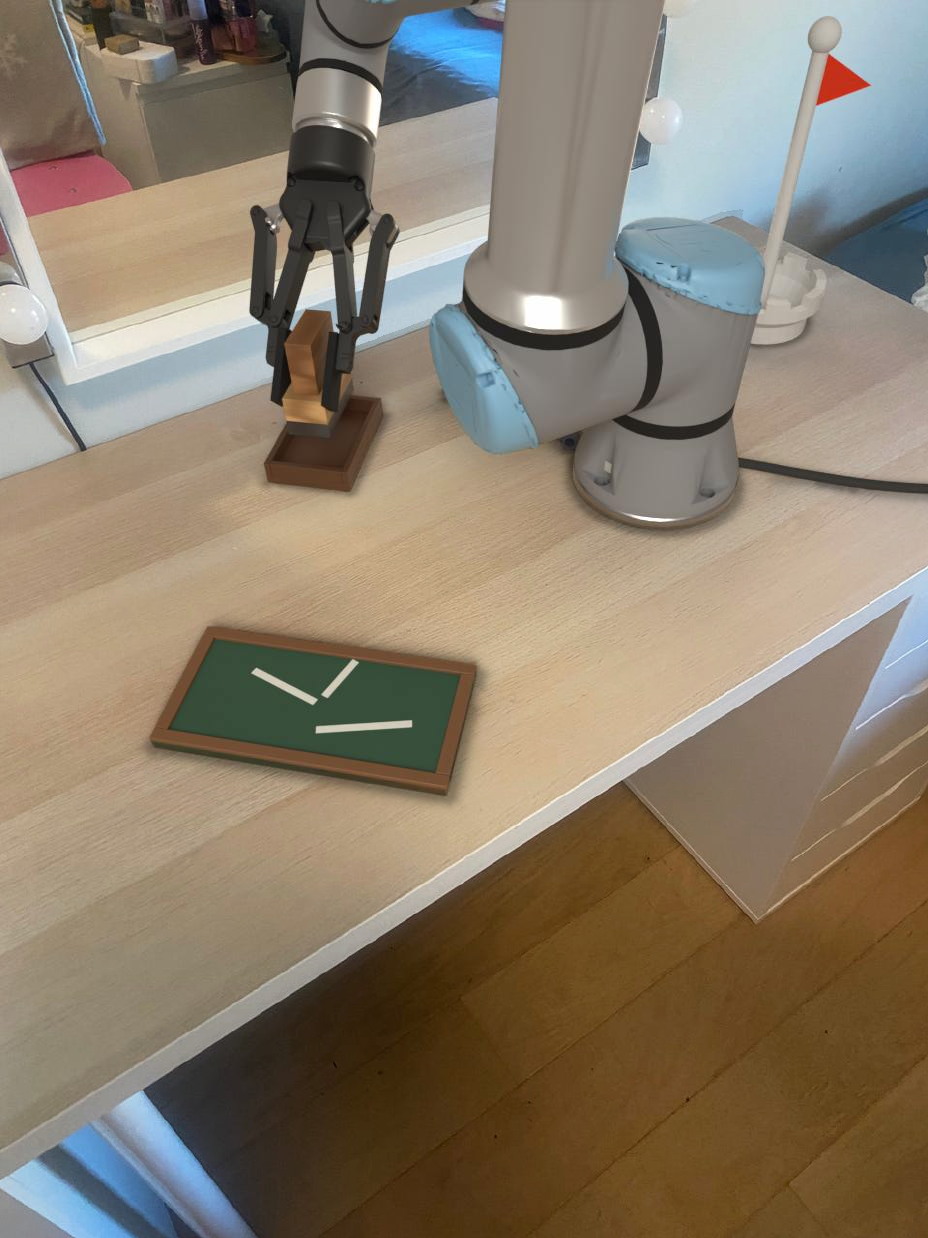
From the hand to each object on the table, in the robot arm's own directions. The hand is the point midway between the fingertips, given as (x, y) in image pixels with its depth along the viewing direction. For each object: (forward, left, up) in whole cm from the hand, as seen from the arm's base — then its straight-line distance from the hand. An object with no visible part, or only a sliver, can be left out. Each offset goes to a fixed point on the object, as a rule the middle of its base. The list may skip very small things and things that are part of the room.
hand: (304, 405), depth 81 cm
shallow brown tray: (0, -4, -8) cm, 9 cm away
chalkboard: (-9, +27, -8) cm, 30 cm away
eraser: (0, -4, -3) cm, 5 cm away
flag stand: (-42, -36, -8) cm, 56 cm away
